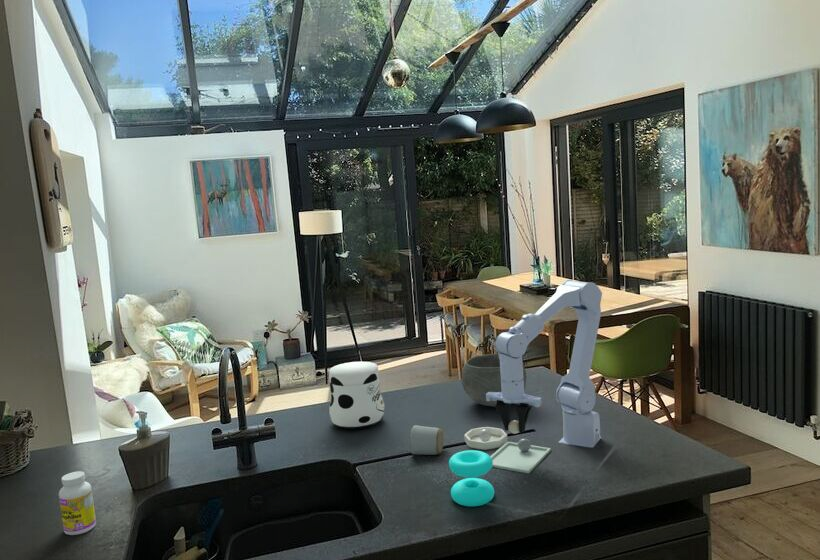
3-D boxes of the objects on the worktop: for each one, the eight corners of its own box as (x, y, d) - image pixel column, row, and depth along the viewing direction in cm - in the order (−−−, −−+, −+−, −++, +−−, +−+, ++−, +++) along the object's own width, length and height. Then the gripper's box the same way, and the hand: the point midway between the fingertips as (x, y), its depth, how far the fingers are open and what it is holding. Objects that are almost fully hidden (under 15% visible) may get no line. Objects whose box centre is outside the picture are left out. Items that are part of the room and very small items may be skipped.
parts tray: (551, 452, 169) (550, 448, 169) (528, 475, 157) (528, 471, 157) (507, 445, 176) (507, 441, 176) (483, 467, 163) (482, 462, 163)
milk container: (396, 422, 200) (391, 367, 198) (347, 437, 191) (342, 379, 189) (367, 410, 215) (363, 357, 212) (321, 423, 205) (316, 368, 203)
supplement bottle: (57, 536, 144) (49, 482, 142) (77, 521, 151) (69, 469, 149) (84, 536, 143) (76, 482, 141) (102, 521, 149) (95, 469, 148)
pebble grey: (493, 439, 179) (492, 427, 179) (488, 443, 177) (486, 431, 176) (483, 438, 181) (481, 427, 181) (477, 443, 178) (475, 431, 178)
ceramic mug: (439, 459, 170) (438, 431, 169) (410, 458, 172) (408, 430, 172) (447, 444, 180) (445, 418, 180) (419, 443, 183) (417, 417, 182)
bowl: (533, 413, 200) (530, 366, 198) (465, 417, 200) (462, 371, 198) (522, 392, 221) (519, 350, 219) (461, 396, 221) (458, 354, 219)
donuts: (439, 456, 148) (473, 444, 153) (442, 497, 149) (476, 484, 154) (466, 470, 139) (501, 457, 145) (469, 513, 141) (503, 499, 146)
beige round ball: (523, 431, 166) (523, 419, 166) (518, 436, 164) (518, 423, 163) (511, 430, 168) (510, 417, 168) (506, 434, 165) (505, 421, 165)
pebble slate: (533, 449, 171) (532, 437, 170) (528, 454, 168) (527, 442, 167) (521, 447, 172) (520, 435, 172) (516, 452, 170) (515, 440, 169)
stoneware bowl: (512, 438, 181) (512, 430, 180) (495, 453, 171) (495, 444, 171) (477, 433, 187) (476, 425, 186) (458, 447, 177) (458, 438, 177)
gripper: (479, 380, 165) (482, 431, 166) (533, 386, 157) (535, 439, 159) (491, 373, 171) (494, 422, 172) (543, 378, 163) (545, 429, 164)
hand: (514, 430), depth 166 cm, fingers closed on beige round ball, 3 cm apart
